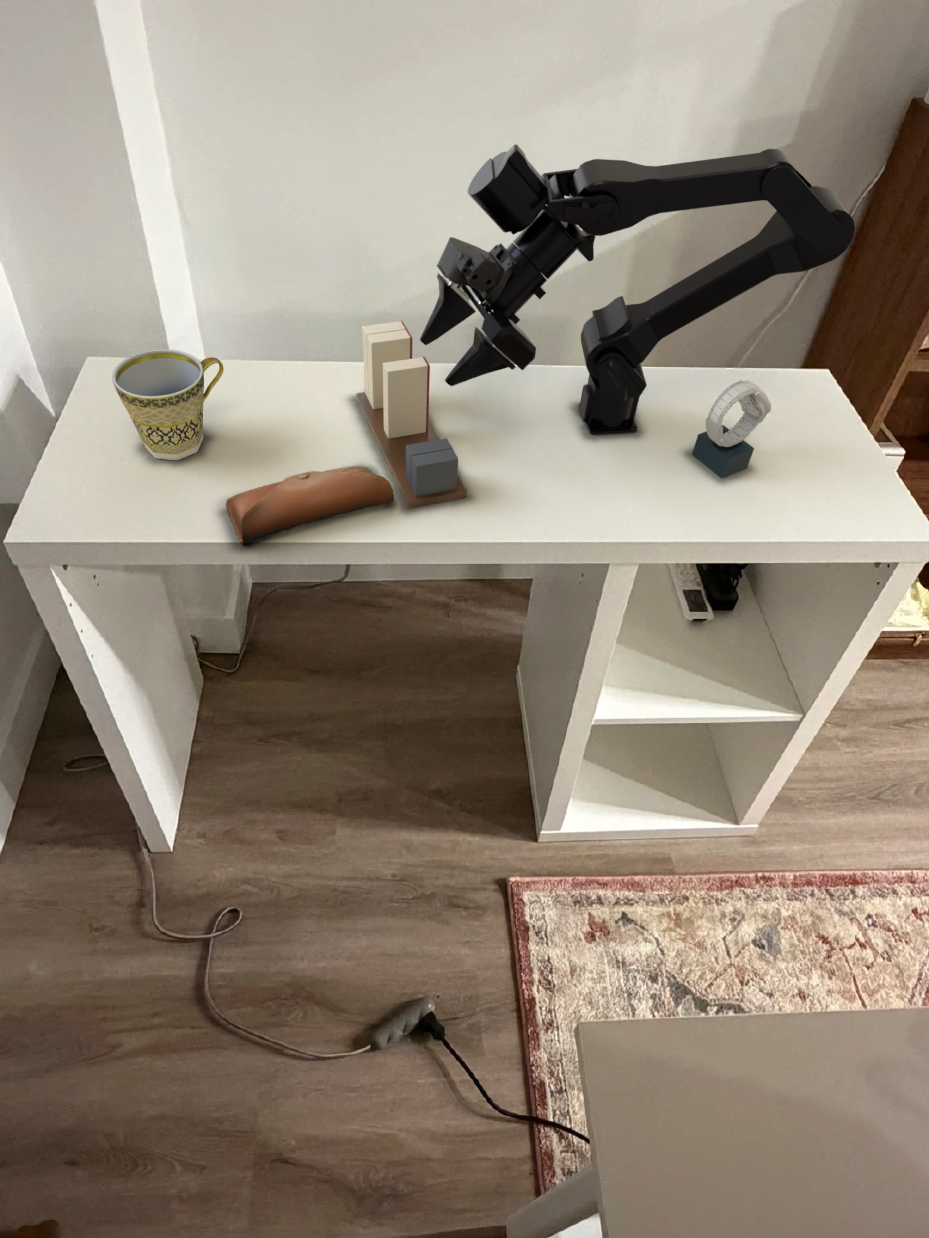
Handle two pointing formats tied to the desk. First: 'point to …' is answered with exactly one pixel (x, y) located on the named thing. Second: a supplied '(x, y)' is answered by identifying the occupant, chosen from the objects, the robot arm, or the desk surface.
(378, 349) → the white books
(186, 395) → the ceramic cup
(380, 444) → the shelf board
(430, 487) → the grey books
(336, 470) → the sunglasses case
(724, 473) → the watch
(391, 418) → the white book
